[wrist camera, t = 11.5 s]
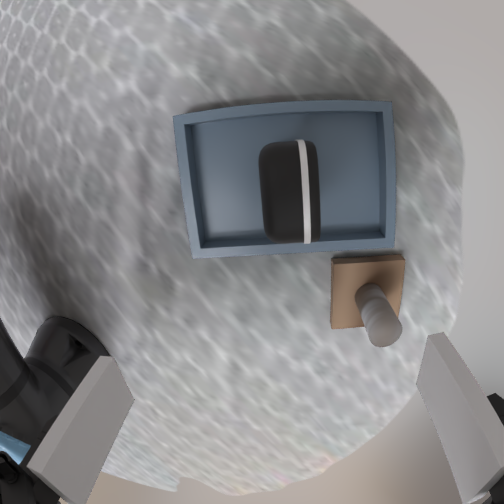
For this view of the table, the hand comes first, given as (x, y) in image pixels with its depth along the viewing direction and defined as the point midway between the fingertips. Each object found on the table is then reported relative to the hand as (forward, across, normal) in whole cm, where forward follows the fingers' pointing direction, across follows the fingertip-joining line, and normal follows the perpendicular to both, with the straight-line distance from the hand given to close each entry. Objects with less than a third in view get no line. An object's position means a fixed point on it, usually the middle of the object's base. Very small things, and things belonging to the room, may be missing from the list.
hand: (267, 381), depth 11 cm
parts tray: (+21, +2, +5) cm, 22 cm away
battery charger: (+21, +2, +5) cm, 21 cm away
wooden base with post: (+21, +10, -8) cm, 25 cm away
